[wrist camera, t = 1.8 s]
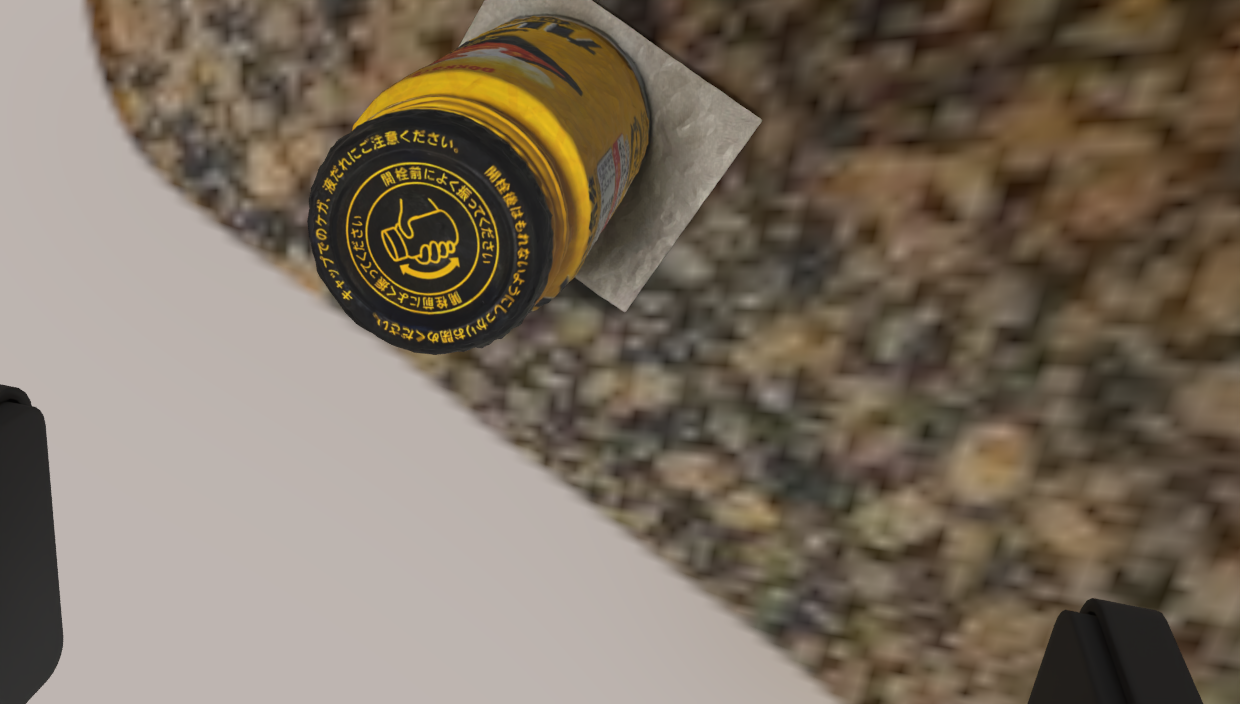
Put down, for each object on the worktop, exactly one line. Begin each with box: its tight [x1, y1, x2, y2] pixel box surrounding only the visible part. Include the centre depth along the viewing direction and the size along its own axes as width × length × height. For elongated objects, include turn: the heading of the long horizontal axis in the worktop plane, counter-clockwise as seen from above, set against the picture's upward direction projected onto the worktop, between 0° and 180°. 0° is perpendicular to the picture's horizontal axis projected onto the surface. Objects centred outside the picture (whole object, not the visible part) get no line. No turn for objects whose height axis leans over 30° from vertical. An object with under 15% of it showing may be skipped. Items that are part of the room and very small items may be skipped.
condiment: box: [307, 0, 762, 355], centre depth 30 cm, size 7×8×12 cm
